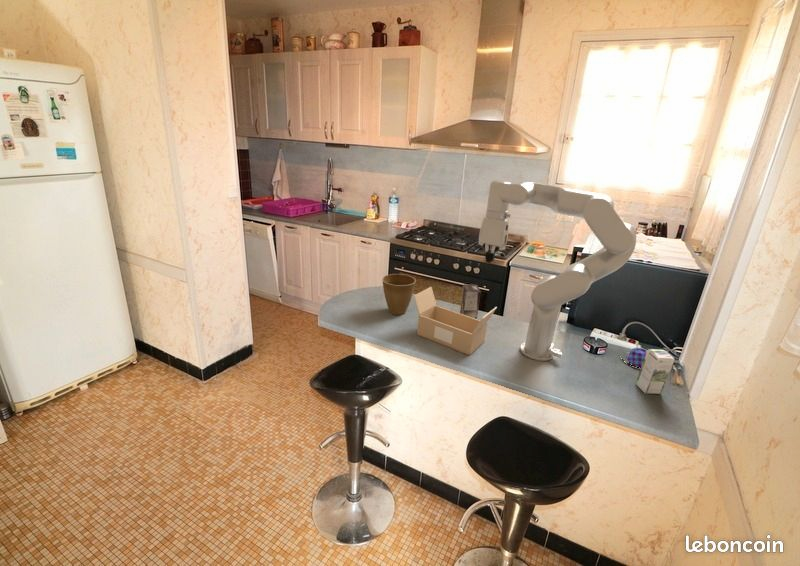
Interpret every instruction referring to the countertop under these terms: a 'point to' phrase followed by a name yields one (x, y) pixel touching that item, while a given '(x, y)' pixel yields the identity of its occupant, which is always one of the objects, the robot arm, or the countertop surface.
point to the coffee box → (470, 300)
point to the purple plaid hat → (636, 356)
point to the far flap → (425, 300)
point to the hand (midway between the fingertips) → (489, 261)
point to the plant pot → (398, 292)
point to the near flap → (484, 320)
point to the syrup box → (654, 371)
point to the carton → (451, 329)
